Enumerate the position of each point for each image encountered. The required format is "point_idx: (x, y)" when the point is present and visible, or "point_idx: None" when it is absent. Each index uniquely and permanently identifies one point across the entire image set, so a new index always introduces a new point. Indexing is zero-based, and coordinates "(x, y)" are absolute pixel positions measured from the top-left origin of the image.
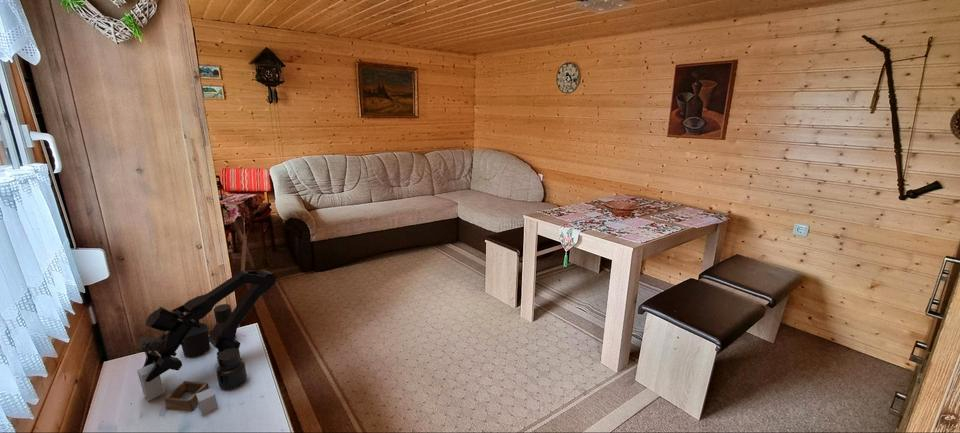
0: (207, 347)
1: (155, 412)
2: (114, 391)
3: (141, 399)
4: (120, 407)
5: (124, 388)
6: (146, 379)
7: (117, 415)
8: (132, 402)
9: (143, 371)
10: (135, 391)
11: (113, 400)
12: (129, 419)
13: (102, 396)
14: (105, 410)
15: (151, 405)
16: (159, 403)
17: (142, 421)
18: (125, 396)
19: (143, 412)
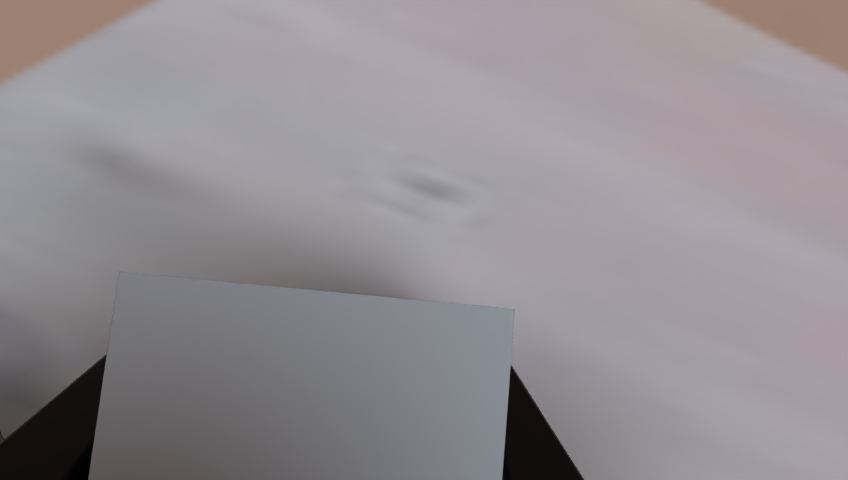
0: None
1: (29, 269)
2: (803, 171)
3: (411, 276)
4: (460, 100)
5: (774, 250)
6: None
7: (348, 33)
8: (440, 201)
9: (282, 383)
10: (619, 296)
11: (646, 106)
12: (168, 71)
13: (809, 73)
14: (538, 2)
15: None
16: None
17: (5, 130)
18: (615, 201)
19: (153, 197)
